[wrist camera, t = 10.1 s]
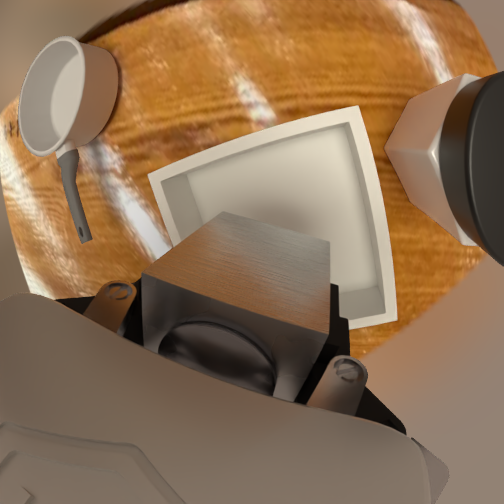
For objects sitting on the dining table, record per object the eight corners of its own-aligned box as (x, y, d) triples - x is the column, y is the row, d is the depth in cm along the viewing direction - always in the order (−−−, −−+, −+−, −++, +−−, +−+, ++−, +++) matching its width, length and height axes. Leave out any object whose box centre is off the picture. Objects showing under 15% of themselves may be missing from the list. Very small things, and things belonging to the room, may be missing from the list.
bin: (386, 289, 21) (397, 320, 17) (232, 314, 26) (215, 344, 22) (350, 113, 17) (358, 105, 13) (178, 167, 22) (147, 174, 18)
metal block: (330, 241, 12) (328, 342, 6) (298, 328, 14) (273, 438, 8) (222, 211, 13) (134, 277, 7) (208, 299, 15) (143, 389, 9)
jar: (446, 230, 18) (528, 312, 7) (366, 172, 18) (420, 210, 8) (494, 141, 14) (598, 158, 3) (418, 76, 14) (501, 22, 4)
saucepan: (90, 237, 27) (54, 256, 22) (50, 83, 21) (14, 83, 16) (168, 206, 23) (130, 225, 18) (116, 25, 18) (78, 12, 13)
